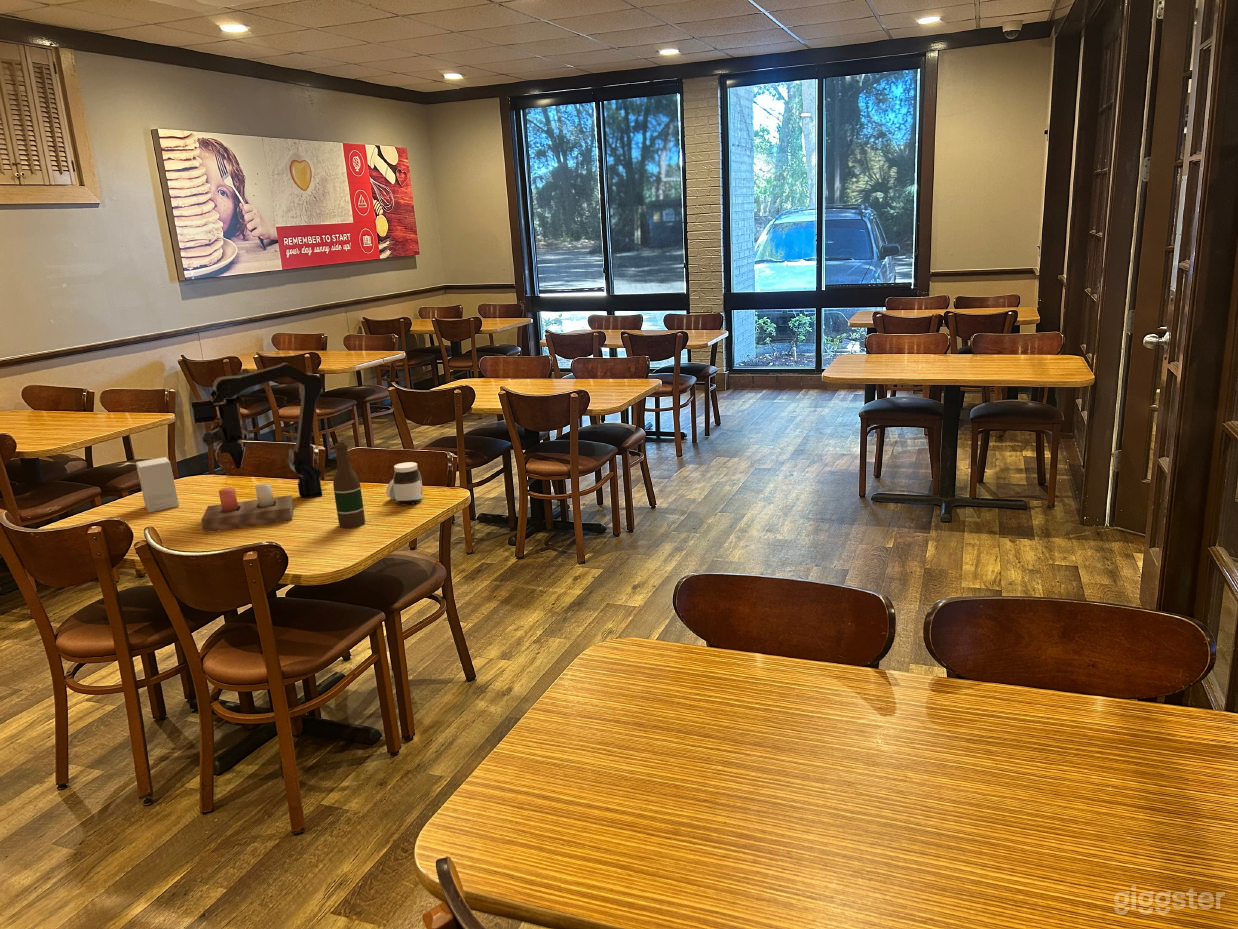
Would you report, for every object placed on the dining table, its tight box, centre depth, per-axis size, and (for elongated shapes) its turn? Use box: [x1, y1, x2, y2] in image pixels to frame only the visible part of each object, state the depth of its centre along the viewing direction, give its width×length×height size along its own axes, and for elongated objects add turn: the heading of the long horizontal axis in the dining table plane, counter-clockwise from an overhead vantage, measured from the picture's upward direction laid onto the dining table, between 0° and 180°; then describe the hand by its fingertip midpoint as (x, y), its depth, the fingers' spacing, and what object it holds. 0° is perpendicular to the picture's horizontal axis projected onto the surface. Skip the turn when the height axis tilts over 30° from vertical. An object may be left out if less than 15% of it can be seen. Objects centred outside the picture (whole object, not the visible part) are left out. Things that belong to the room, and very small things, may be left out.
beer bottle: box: [332, 441, 366, 529], centre depth 251 cm, size 8×8×24 cm
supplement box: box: [135, 456, 180, 513], centre depth 281 cm, size 9×9×15 cm
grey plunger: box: [254, 482, 274, 507], centre depth 264 cm, size 4×4×6 cm
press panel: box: [200, 494, 295, 533], centre depth 264 cm, size 24×14×4 cm, turn 107°
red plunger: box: [218, 487, 238, 512], centre depth 261 cm, size 4×4×6 cm
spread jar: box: [385, 461, 424, 505], centre depth 273 cm, size 12×11×12 cm
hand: (238, 468), depth 272 cm, fingers closed
